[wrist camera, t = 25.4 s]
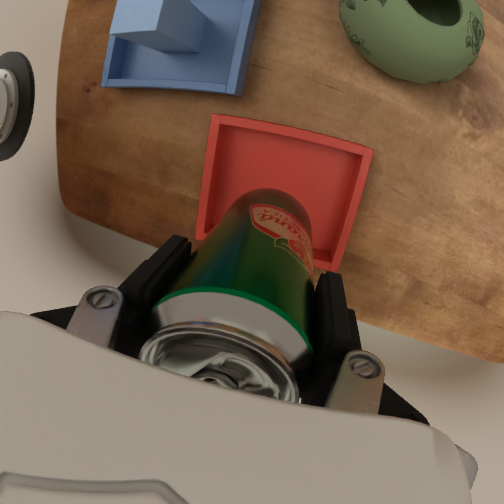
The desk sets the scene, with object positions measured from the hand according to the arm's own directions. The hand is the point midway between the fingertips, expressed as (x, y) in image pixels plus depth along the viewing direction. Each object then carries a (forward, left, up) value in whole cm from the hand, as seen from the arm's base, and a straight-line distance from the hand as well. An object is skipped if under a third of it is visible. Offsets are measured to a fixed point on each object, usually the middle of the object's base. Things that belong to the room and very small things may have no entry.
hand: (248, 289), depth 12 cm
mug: (+8, +21, -18) cm, 29 cm away
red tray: (0, 0, -18) cm, 18 cm away
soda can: (0, 0, -7) cm, 7 cm away
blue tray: (-12, +14, -18) cm, 25 cm away
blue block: (-12, +14, -17) cm, 25 cm away
